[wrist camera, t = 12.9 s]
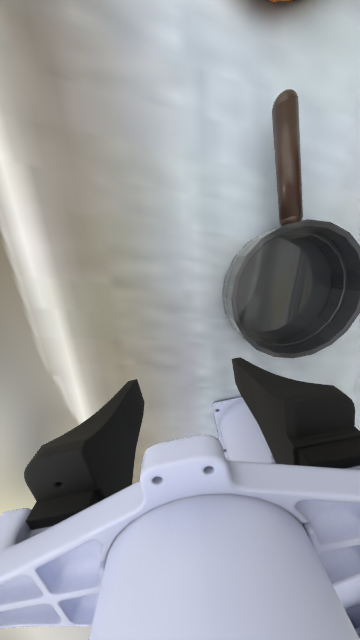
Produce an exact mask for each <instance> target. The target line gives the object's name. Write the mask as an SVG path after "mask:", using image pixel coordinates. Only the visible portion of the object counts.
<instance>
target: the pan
mask: <svg viewBox="0 0 360 640" xmlns="http://www.w3.org/2000/svg"><path fill="white" fill-rule="evenodd" d="M222 296H223V302H224V309H225V313H226V315H227V317H228V319H229V321H230V323H231V324H232V326H233V328H234V329H235V330H236V331H237V332H238V333H239V334H240V335H241V336H242V337H243V338H244V339H246V340H247V341H248V342H249V343H250V344H251V345H252V346H253V347H254V348H255V349H257V350H259V351H261V352H264V353H266V354H268V355H271V356H273V357H283V358H297V357H301V356H306V355H311V354H314V353H316V352H318V351H320V350H322V349H324V348H326V347H328V346H330V345H331V344H333V343H334V342H335V341H336V340H337V339H338V338H339V337H341V336H342V335H343V334H344V333H345V332H346V331H347V330H348V329H349V328H350V326H351V325H352V323H353V322H354V320H355V319H356V318H357V316H358V315H359V313H360V245H359V244H358V243H357V241H356V240H355V239H354V238H353V236H352V235H351V234H350V233H349V232H347V231H346V230H344V229H342V228H340V227H338V226H337V225H335V224H333V223H331V222H325V221H317V220H303V221H299V222H294V223H290V224H285V225H283V226H280V227H277V228H275V229H272V230H269V231H267V232H265V233H263V234H261V235H260V236H258V237H256V238H255V239H253V240H251V241H250V242H248V243H247V244H246V245H245V246H244V247H243V249H242V250H241V251H240V252H239V253H238V254H237V255H236V256H235V257H234V259H233V261H232V263H231V265H230V267H229V269H228V271H227V273H226V276H225V281H224V287H223V295H222Z"/></svg>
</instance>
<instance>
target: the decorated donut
mask: <svg viewBox="0 0 360 640" xmlns="http://www.w3.org/2000/svg"><path fill="white" fill-rule="evenodd" d="M270 1H271V2H273V3H275V2H278V1H283V2H286V1H292V0H270Z"/></svg>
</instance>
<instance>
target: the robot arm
mask: <svg viewBox="0 0 360 640" xmlns="http://www.w3.org/2000/svg"><path fill="white" fill-rule="evenodd" d="M232 363H233V370H234V376H235V382H236V385H237V387H238V390H239V392H240V394H241V396H242V397H239V398H234V399H229V400H225V401H220V402H215V403H214V404H213V410H214V415H215V420H216V425H217V430H218V435H219V440H220V441H219V440H218V439H217V438H215V437H213V436H211V435H196V436H191V437H187V438H182V439H177V440H172V441H167V442H162V443H158V444H155V445H153V446H151V447H149V448H148V449H147V450H146V452H145V453H144V455H143V461H142V467H141V474H140V481H138V482H136V483H134V484H132V478H133V468H134V459H135V451H136V445H137V441H138V436H139V432H140V427H141V423H142V418H143V412H144V400H143V397H142V393H141V390H140V387H139V384H138V381H137V379H136V380H131V381H128V382H127V383H126V384H125V385H124V386H123V387H122V388H121V390H120V391H119V392H118V393H117V394H116V395H115V396H114V397H113V398H112V399H111V400H110V401H109V402H108V403H107V404H105V405H104V406H103V407H102V408H101V409H100V410H99V411H98V412H96V413H95V414H94V415H93V416H91V417H90V418H89V419H87V420H86V421H84V422H83V423H81V424H80V425H79V426H77V427H75V428H74V429H72V430H71V431H69V432H67V433H65V434H64V435H62V436H60V437H58V438H56V439H54V440H52V441H50V442H49V443H46V444H44V445H42V446H41V448H40V449H39V451H38V452H37V453H36V454H35V456H34V457H33V459H32V460H31V461H30V463H29V464H28V465H27V467H26V469H25V472H24V478H25V481H26V483H27V486H28V487H29V489H30V490H31V492H32V494H33V496H34V497H35V499H36V501H37V502H36V504H35V506H34V507H33V509H32V510H31V509H29V508H22V509H17V510H12V511H7V512H4V513H3V514H2V515H1V516H0V629H4V628H15V627H33V626H60V627H61V626H62V627H91V631H90V635H89V640H360V431H359V430H358V429H357V428H356V427H354V424H355V407H354V403H353V401H352V400H351V399H350V398H349V397H348V396H347V395H345V394H344V393H343V392H341V391H340V390H339V389H337V388H336V387H334V386H333V385H322V384H313V383H307V382H301V381H296V380H292V379H288V378H285V377H281V376H279V375H276V374H273V373H270V372H268V371H266V370H263V369H261V368H259V367H257V366H255V365H253V364H251V363H250V362H248V361H246V360H244V359H242V358H235V359H232ZM216 409H218V410H216ZM226 458H229V460H227V459H226Z"/></svg>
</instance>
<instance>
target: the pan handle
mask: <svg viewBox="0 0 360 640" xmlns="http://www.w3.org/2000/svg"><path fill="white" fill-rule="evenodd" d="M272 120H273V135H274V149H275V164H276V178H277V192H278V207H279V221H280V225H281V226H283V225H285V224H290V223H294V222H299V221H301V220H302V217H303V210H302V184H301V158H300V133H299V107H298V96H297V93H296V92H295V91H294V90H290V89H289V90H285V91H283V92H282V93H281V94H280V95H279V96H278V97H277V99H276V100H275V102H274V105H273V108H272Z"/></svg>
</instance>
